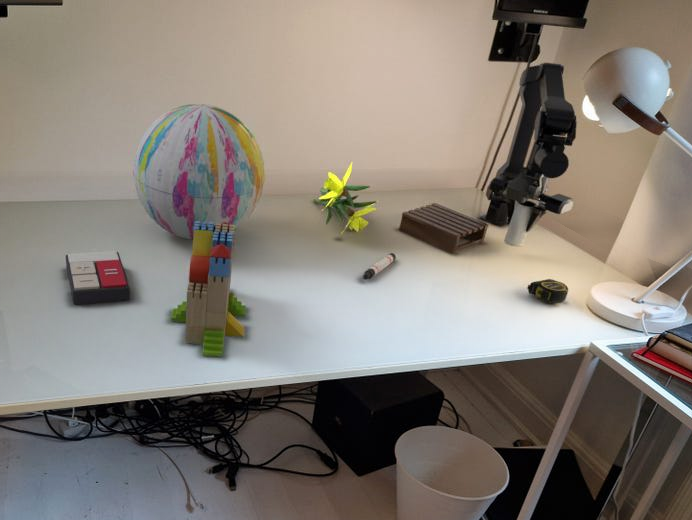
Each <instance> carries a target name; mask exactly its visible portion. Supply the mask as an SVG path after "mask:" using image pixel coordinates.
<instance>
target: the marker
mask: <svg viewBox="0 0 692 520" xmlns="http://www.w3.org/2000/svg"><path fill="white" fill-rule="evenodd" d="M396 259H397V256H396V254H395V253H394V252H390V253H388V254H387V255H385V256H384V257H382V258H381V259H380V260H379V261H377V262H376V263H374V264H373V265H371V266H370V267H369V268H368V269H367V270H365V271H364V273H363V275H362V279H363V280H370V279H372V278H374V277H375V276H377V274H379V273H380V272H381V271H382V270H384V269H385V268H386V267H388V266H389V265H390V264H392V263H393V262H394V261H396Z"/></svg>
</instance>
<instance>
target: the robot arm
mask: <svg viewBox="0 0 692 520" xmlns="http://www.w3.org/2000/svg"><path fill="white" fill-rule="evenodd" d="M564 67H565V66H564V65H562V63H553V62H541V63H540V64H536V65H531V66H528V67H526V68H525V69H523V71H522V73H521V75H520V77H519V82H518V83H519V85H518V86H519V91H518V94H519V97H520V101H521V104H522V105H521V108H520V111H519V115H518V119H517V122H516V126H515V129H514V133H513V136H512V140H511V143H510V147H509V151H508V155H507V157H506V158H507V159H506V161H505V162H504V163H503V164H502V165H501V166H500V168H498V169H497V171H496V173H495V176H494V177H493V178H492V179H491V180H490V182H489V184H488V186H487V188H486V192H485V196H486V198H487V200H488V201H489V204H488V208H487V211H486V214H484V215H482V216H480V217H479V219H480V220H482V221H485V222H487V223H490V224H492V225H494V226H497V227H502V226H505V225H509V224H510V221H511V219H512V216H513V213H514V210H515V207H516V204H517V202H519V203H524V202H526V201H527V200H531V201H537V202H538V204H536V205H537V206H534V207H533V214H532V216H531V218H530V221H529V223H528V226H527V229H526V231H527V233H528V232H530V231H531V230H532V229H533V228H534V227H535V226H536V224H537V223H538V222H539V221H540V220H541V218H542V217H543V216H545V215H546V214H547V213H548V212H551V213H553V214H557V215H562V214H564V213H567V212H571V210H572V208H573V206H574V200H573V198H572V197H570V196H567V195H564V194H561V193H556V194H553V195H549V194H546V192H548V190H549V187H548V184H549V180H550V179H557V178H559V177H561V176H563V175H564V174H565V173H566V172H567V170H568V168H569V166H570V165H569V163H570V160H569V158H568V156H567V154H566V153H565V149H566V147H567V146H568V147H572V146H573V144H574V143H573V142H574V141H575V139H576V137H577V127H578V126H577V125H578V121H577V115H576V112H575V109H574V106H573V104H572V103H570V102H569V101H568V100H566V96H565V95H566V94H565V87H564V80H563V79H564V78H563V74H564V70H565V68H564ZM533 135H534V136H533ZM532 138H533V139H534V141H533V144H532V147H531V150H530V153H529V149H530V146H531V143H532ZM528 153H529V157H528V160H527V162H526V159H527V155H528ZM525 162H526V165H525Z"/></svg>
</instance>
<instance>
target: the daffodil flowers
mask: <svg viewBox="0 0 692 520" xmlns="http://www.w3.org/2000/svg"><path fill="white" fill-rule="evenodd" d="M352 170H353V162H351V163H350V164H349V167H348V168H347V170H346V172H345V174H344V176H343V177H342V180H341V179H339V177H338V176H337V175H336V174H334V173H333V172H330V171H328V172H327V175H328V177H327V178H326V180H325V181H324V184H323V187H322V188H320V190H319V192H320V193H321V195H322V196H320V197H319V198H318V199H316V198H313V201H314V202H315V203H317V204H319V205H323V206H324V208H323V210H325V209H326V210H327V215H326V219H325V225H328V224H329V222H330V221H331V219H332V216H333V213H332V209H333V211H334V212H335V213H336V215H337V216H338V218H339V220H340V221H341V223H342V224H344V218H343V217H344V216H343V214H344V215H345V216H346V217H347V218H348V222H347V224H346V226H345V228H344V229H343V230H342V232H341V233H340V235H342V234H343V232H344V231H345V229H346V228H347V227H348V228H349V229H350V230H351V231H352V230H353V229H354V230H355V231H356V232H357V233H358V232H359V230H360V231H363V230H364V228H366V227H367V225H368V224H369V222H368V221H367V220H365V219H364V218H362V217H361V216H364V215H366V214H369V213H371V212H374V211H376V210H377V208H376V207H373V205H375V204H376V203H377V202H378V200H373V201H364V202H363V201H361V202H354V200H356V199H357V198H358V197H359V195H353V196H352V195H351V193H350V192H359V191H363V190H366V189H369V188H371V186H370V185H360V184H359V185H358V184H357V185H353V184H347V181H348V179H349V178H350V175H351V173H352ZM349 191H350V192H349ZM343 197H345V198H343ZM350 207H351V208H350ZM331 208H332V209H331ZM352 208H353V209H352ZM361 208H363V209H361ZM354 209H361V210H358V211H355V210H354ZM342 213H343V214H342Z"/></svg>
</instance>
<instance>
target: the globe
mask: <svg viewBox="0 0 692 520" xmlns="http://www.w3.org/2000/svg"><path fill="white" fill-rule="evenodd" d="M264 163H265V162H264V158H263V153H262V150H261V147H260V145H259V143H258V141H257V139H256V137H255V135H254V134H253V133H252V131H251V130H250V128H249V127H248V126H247V125H246V124H245V123H244V122H243V121H242V120H241V119H239V117H237V116H236V115H234V114H233V113H231V112H229V111H227V110H226V109H224V108H222V107H218V106H215V105H211V104H205V103H191V104H185V105H181V106H177V107H175V108H172V109H171V110H168V111H166V112H165V113H163V114H162V115H161V116H158V117H157V118H156V120H154V121H153V122H152V123H151V125H150V126H149V127H148V128H147V129H146V130H145V132H144V133H143V135H142V137H141V139H140V141H139V143H138V145H137V147H136V150H135V155H134V160H133V170H132V174H133V182H134V188H135V191H136V195H137V197H138V199H139V201H140V203H141V205H142V207H143V209H144V210H145V212H146V213H147V215H148V216H149V217H150V219H152V220H153V221H154V222H155V223H156V224H157V225H158V226H159V227H161V228H162V229H164V230H165V231H167V232H169V233H170V234H172V235H174V236H177V237H180V238H182V239H185V240H192V241H193V234H194V225H195V221H200V226H201V225H202V223H203V222H207V227H208V226H209V222H213V223H214V226H215V225H216V223H219V224H221V223H223V222H226V223H228V224H229V225H235V230H237V229H238V228H239V227H241V225H243V224H244V223H246V221H247V220H248V219H249V218H250V216H251V215H252V214H253V212H254V211H255V209H256V208H257V206H258V204H259V201H260V199H261V196H262V194H263V189H264V183H265V164H264ZM201 227H202V226H201Z"/></svg>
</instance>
